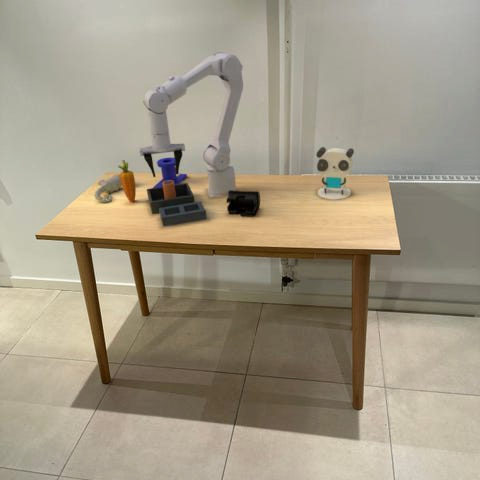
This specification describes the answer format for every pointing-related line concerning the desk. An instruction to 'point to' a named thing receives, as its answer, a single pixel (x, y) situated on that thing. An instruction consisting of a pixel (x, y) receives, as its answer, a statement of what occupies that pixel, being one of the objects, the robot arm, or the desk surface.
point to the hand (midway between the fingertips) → (165, 174)
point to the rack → (182, 213)
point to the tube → (169, 189)
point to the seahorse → (108, 187)
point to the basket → (159, 201)
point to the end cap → (243, 202)
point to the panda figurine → (334, 172)
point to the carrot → (127, 182)
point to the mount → (169, 172)
